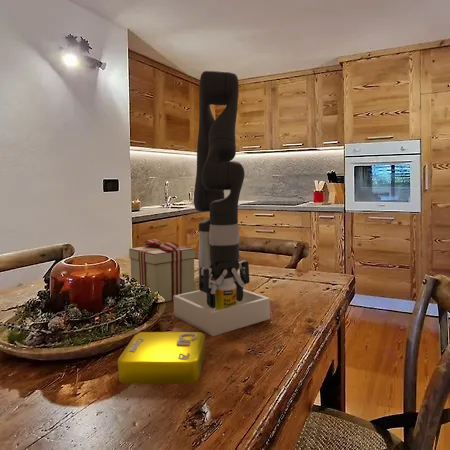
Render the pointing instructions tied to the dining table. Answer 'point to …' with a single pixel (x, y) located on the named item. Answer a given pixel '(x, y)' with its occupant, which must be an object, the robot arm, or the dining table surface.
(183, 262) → the gift box
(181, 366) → the element tile
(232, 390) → the dining table surface
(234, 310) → the box
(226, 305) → the supplement bottle
